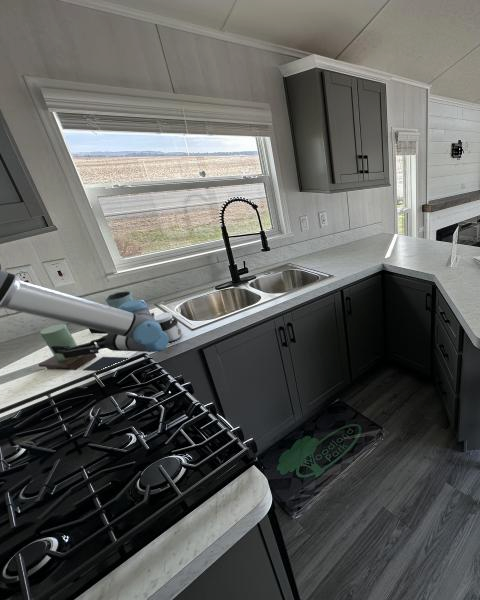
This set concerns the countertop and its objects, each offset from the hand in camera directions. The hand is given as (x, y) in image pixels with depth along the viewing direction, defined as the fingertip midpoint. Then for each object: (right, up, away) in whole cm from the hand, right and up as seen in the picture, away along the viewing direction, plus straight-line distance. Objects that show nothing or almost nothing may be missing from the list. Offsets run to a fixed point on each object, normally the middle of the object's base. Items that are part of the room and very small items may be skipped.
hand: (73, 339), depth 122 cm
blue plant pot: (-14, +6, +41) cm, 44 cm away
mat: (+9, -11, +2) cm, 15 cm away
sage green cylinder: (-6, -7, +4) cm, 10 cm away
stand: (-6, -10, +6) cm, 13 cm away
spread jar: (+21, -3, +20) cm, 29 cm away
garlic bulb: (+10, +1, +29) cm, 31 cm away
